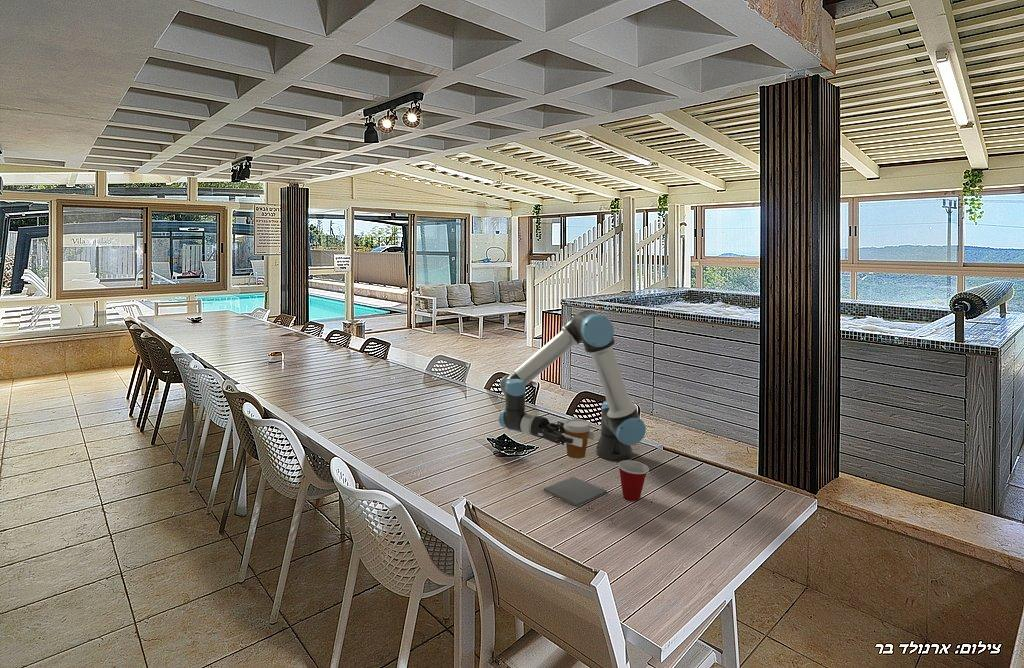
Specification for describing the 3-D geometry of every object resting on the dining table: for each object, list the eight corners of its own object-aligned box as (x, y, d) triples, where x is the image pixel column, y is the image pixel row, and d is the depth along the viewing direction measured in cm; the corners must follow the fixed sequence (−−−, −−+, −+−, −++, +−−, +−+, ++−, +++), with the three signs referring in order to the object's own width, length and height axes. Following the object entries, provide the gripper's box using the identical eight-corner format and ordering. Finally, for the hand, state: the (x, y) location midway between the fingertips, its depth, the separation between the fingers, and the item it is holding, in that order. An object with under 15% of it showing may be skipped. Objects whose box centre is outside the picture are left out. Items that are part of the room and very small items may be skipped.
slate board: (573, 479, 216) (573, 476, 216) (606, 493, 204) (607, 490, 204) (543, 491, 205) (543, 488, 205) (577, 506, 194) (577, 504, 193)
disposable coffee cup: (558, 451, 205) (559, 419, 203) (582, 449, 208) (584, 417, 206) (569, 461, 197) (570, 428, 194) (594, 458, 199) (595, 426, 197)
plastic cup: (648, 506, 195) (650, 473, 193) (616, 503, 197) (617, 470, 195) (647, 492, 205) (649, 460, 203) (616, 489, 207) (618, 458, 205)
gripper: (551, 428, 221) (603, 441, 207) (518, 443, 205) (572, 458, 191) (551, 409, 220) (603, 421, 206) (518, 423, 203) (572, 437, 190)
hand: (588, 439), depth 198 cm, fingers closed on disposable coffee cup, 8 cm apart
